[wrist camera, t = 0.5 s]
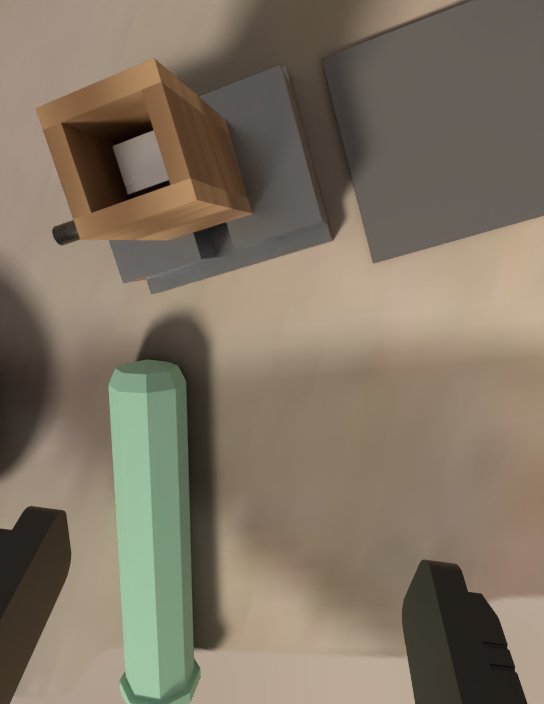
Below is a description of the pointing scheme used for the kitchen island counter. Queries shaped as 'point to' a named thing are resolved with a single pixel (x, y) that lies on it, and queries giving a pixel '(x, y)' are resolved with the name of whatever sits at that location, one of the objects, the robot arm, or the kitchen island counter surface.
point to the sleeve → (175, 146)
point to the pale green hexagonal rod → (153, 531)
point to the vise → (259, 181)
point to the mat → (444, 124)
